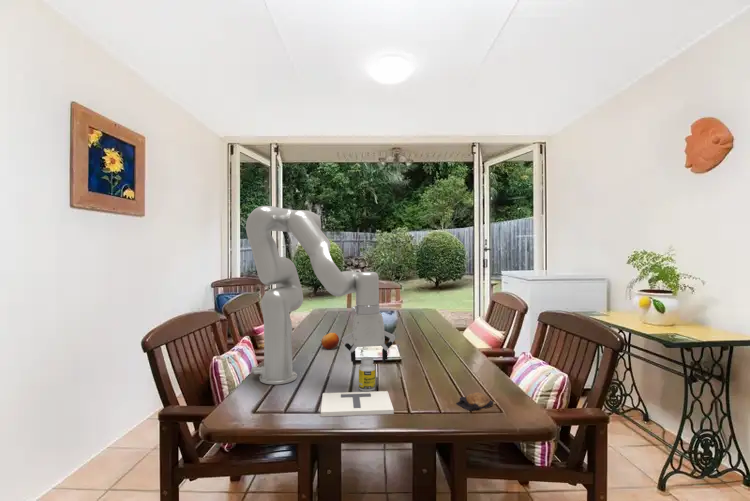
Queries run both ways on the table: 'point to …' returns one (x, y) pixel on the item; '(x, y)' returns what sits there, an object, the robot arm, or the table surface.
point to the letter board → (356, 403)
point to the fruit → (330, 341)
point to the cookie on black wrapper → (475, 402)
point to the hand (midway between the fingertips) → (369, 362)
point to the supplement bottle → (366, 374)
